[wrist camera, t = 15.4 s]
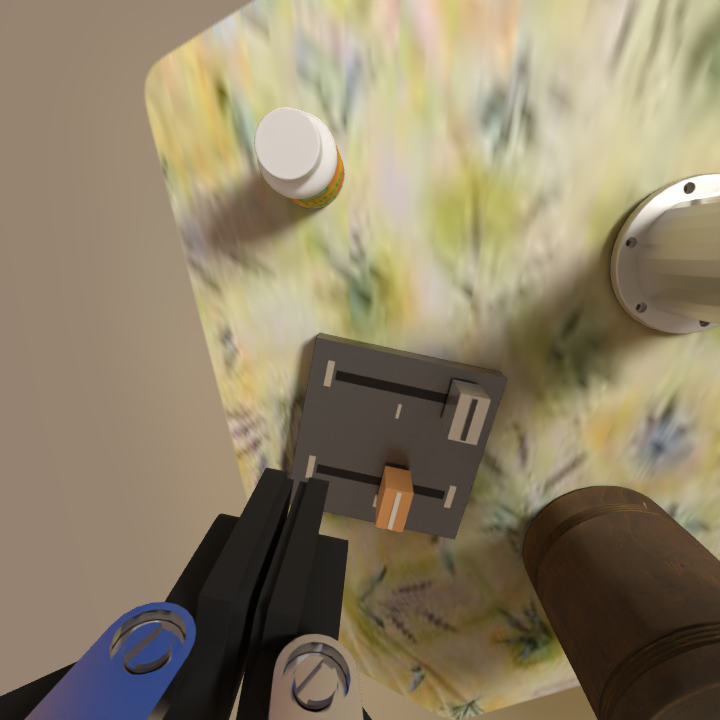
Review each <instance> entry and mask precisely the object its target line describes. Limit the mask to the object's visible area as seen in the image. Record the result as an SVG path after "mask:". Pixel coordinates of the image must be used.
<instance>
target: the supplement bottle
mask: <svg viewBox="0 0 720 720" xmlns="http://www.w3.org/2000/svg"><path fill="white" fill-rule="evenodd" d="M254 144H255V151H256V155H257V161H258V165H259V169H260V171H261V173H262V176H263V177H264V179H265V180H266V182H267V183H268V184H269V185H270V186H271V187H272V188H273V189H274V190H275V191H276V192H278V193H279V194H281V195H282V196H284V197H286V198H288V199H289V200H291V201H292V202H294V203H296V204H297V205H299V206H302V207H305V208H311V209H315V208H321V207H324V206H326V205H328V204H329V203H331V202H332V201H333V200H334V199H335V198H336V197H337V196H338V194H339V193H340V191H341V189H342V186H343V183H344V166H343V162H342V159H341V157H340V154H339V152H338V149H337V146H336V144H335V141H334V139H333V136H332V134H331V133H330V131H329V129H328V128H327V127H326V125H325V124H324V123H323V122H322V121H321V120H320V119H318V118H317V117H316V116H314V115H312V114H310V113H307V112H304V111H299V110H297V109H294V108H289V107H283V108H278V109H275V110H273V111H271V112H269V113H268V114H267V115H266V116H265V117H264V118H263V119H262V120H261V121H260V123H259V125H258V127H257V130H256V133H255V141H254Z"/></svg>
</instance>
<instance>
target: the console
mask: <svg viewBox="0 0 720 720" xmlns="http://www.w3.org/2000/svg"><path fill="white" fill-rule="evenodd" d="M453 380H458V381H463V382H467V383H472V384H476V385H480V386H481V387H482V389H483V390H484V391H485V393H486V394H487V395H488V397H489V398H490V399H491V401H490V405H489V408H488V411H487V414H486V417H485V420H484V423H483V426H482V430H481V433H480V436H479V439H478V442H477V445H473V444H468V443H463V442H459V441H454V440H450V439H447V436H446V434H445V431H444V428H443V425H442V423H441V419H442V415H443V412H444V408H445V405H446V402H447V398H448V395H449V391H450V388H451V384H452V381H453ZM506 381H507V378H506V377H505V376H504V375H503V374H502V373H501V372H498V371H493V370H489V369H484V368H480V367H475V366H470V365H466V364H461V363H457V362H452V361H447V360H443V359H438V358H434V357H429V356H424V355H420V354H415V353H411V352H406V351H401V350H397V349H392V348H388V347H383V346H378V345H374V344H369V343H365V342H360V341H355V340H351V339H346V338H341V337H337V336H332V335H328V334H323V333H319V335H318V336H317V338H316V343H315V349H314V354H313V359H312V365H311V370H310V375H309V381H308V386H307V392H306V397H305V402H304V408H303V413H302V418H301V424H300V429H299V435H298V440H297V445H296V451H295V456H294V461H293V467H292V472H291V477H290V479H294V483H293V488H292V494H291V499H290V504H291V505H292V502H293V499H294V497H295V494H296V491H297V488H298V485H299V482H300V481H303V482H308V480H309V477H312V478H317V479H322V480H326V481H330V482H329V487H328V492H327V496H326V501H325V505H324V510H323V511H324V512H329V513H333V514H338V515H343V516H347V517H352V518H357V519H362V520H366V521H371V522H376V500H377V496H378V492H379V488H380V484H381V481H382V477H383V473H384V469H385V466H389V467H394V468H398V469H403V470H408V471H411V478H412V485H413V492H414V494H413V498H412V501H411V505H410V508H409V512H408V515H407V519H406V522H405V526H404V529H408V530H413V531H418V532H423V533H427V534H432V535H437V536H441V537H446V538H451V539H455V537H456V534H457V531H458V528H459V525H460V522H461V519H462V516H463V513H464V510H465V507H466V504H467V501H468V497H469V494H470V491H471V488H472V485H473V482H474V479H475V476H476V473H477V470H478V467H479V464H480V461H481V458H482V455H483V451H484V448H485V445H486V442H487V439H488V436H489V433H490V430H491V427H492V424H493V421H494V418H495V415H496V412H497V409H498V405H499V402H500V399H501V396H502V393H503V390H504V387H505V384H506Z"/></svg>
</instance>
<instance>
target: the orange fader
mask: <svg viewBox="0 0 720 720" xmlns="http://www.w3.org/2000/svg"><path fill="white" fill-rule="evenodd" d="M413 494H414V492H413V485H412V478H411V471H408V470H403V469H398V468H394V467H389V466H385V469H384V473H383V477H382V481H381V484H380V488H379V492H378V496H377V500H376V527H377V528H382V529H387V530H391V531H396V532H401V533H403V530H404V526H405V522H406V519H407V515H408V512H409V508H410V505H411V501H412V498H413Z"/></svg>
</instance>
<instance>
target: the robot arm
mask: <svg viewBox="0 0 720 720" xmlns="http://www.w3.org/2000/svg"><path fill="white" fill-rule="evenodd" d="M683 189H684V190H683ZM626 241H627V245H626ZM610 275H611V281H612V287H613V290H614V292H615V295H616V297H617V300H618V301H619V303H620V304H621V306H622V307H623V309H624V310H625V311H626V312H627V313H628V314H629V315H630V316H631V317H632V318H633V319H634V320H636V321H638V322H639V323H641V324H643V325H645V326H647V327H650V328H653V329H656V330H659V331H664V332H668V333H681V334H687V333H694V332H701V331H704V330H707V329H710V328H713V327H716V326H718V325H720V174H719V173H711V174H700V175H695V176H691V177H687V178H683V179H680V180H678V181H675V182H673V183H670V184H667V185H666V186H664V187H662V188H661V189H659V190H657V191H655V192H654V193H652V194H651V195H650V196H649V197H648V198H646V199H645V200H644V201H643V202H641V203H640V204H639V205H638V207H637V208H636V209H635V210H634V211H633V212H632V213H631V215H630V216H629V217H628V219H627V220H626V222H625V223H624V225H623V227H622V228H621V230H620V232H619V234H618V237H617V239H616V242H615V244H614V248H613V252H612V257H611V271H610ZM636 306H637V308H636ZM329 482H330V481H326V480H322V479H317V478H312V477H309V480H308V482H303V481H300V482H299V485H298V488H297V491H296V494H295V497H294V499H293V502H292V505H291V508H290V511H289V514H288V510H289V504H290V499H291V494H292V488H293V483H294V479H289V478H287V472H284V471H280V470H275V469H270V468H266V469H265V471H264V473H263V474H262V476H261V478H260V480H259V482H258V484H257V486H256V488H255V490H254V492H253V493H252V495H251V497H250V499H249V501H248V503H247V505H246V507H245V509H244V511H243V513H242V514H241V516H240V517H235V516H230V515H226V514H219V515H218V517H217V518H216V519H215V521H214V523H213V524H212V526H211V527H210V529H209V531H208V532H207V534H206V535H205V537H204V539H203V541H202V542H201V544H200V545H199V547H198V549H197V550H196V552H195V553H194V555H193V557H192V558H191V560H190V561H189V563H188V565H187V567H186V568H185V570H184V571H183V573H182V575H181V576H180V578H179V580H178V581H177V583H176V584H175V586H174V588H173V589H172V591H171V592H170V594H169V596H168V597H167V599H166V601H165V602H155V603H149V604H145V605H142V606H138V607H136V608H134V609H132V610H130V611H129V612H127V613H125V614H123V615H122V616H121V617H120V618H119V619H117V620H116V621H115V622H114V623H113V624H112V625H111V626H110V627H109V628H108V629H107V630H106V631H105V632H104V633H103V634H102V635H101V637H100V638H99V639H98V640H97V641H96V642H95V643H94V644H93V645H92V646H91V647H90V649H89V650H88V651H87V652H86V653H85V654H84V655H83V656H82V657H81V659H79V661H77V662H75V663H73V664H71V665H68V666H66V667H64V668H62V669H60V670H58V671H55V672H53V673H51V674H49V675H46V676H44V677H42V678H40V679H38V680H36V681H33V682H31V683H29V684H27V685H24V686H22V687H20V688H18V689H16V690H13V691H12V692H9V693H7V694H5V695H3V696H0V720H229V718H230V715H231V711H232V709H233V706H234V702H235V699H236V696H237V693H238V690H239V686H240V684H241V681H242V678H243V675H244V678H243V683H242V689H241V695H240V700H239V706H238V712H237V717H236V720H372V719H371V718H370V716H369V715H368V714H367V712H366V711H365V710H364V708H363V707H362V700H361V689H360V679H359V673H358V669H357V665H356V662H355V660H354V659H353V657H352V655H351V653H350V652H349V651H348V650H347V649H346V648H345V647H344V646H343V645H342V644H341V643H340V642H339V641H338V636H339V627H340V617H341V608H342V599H343V589H344V580H345V571H346V561H347V552H348V540H343V539H339V538H334V537H329V536H325V535H320V534H318V533H319V528H320V524H321V519H322V515H323V510H324V505H325V501H326V496H327V492H328V487H329ZM287 515H288V517H287ZM244 671H245V672H244Z"/></svg>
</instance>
